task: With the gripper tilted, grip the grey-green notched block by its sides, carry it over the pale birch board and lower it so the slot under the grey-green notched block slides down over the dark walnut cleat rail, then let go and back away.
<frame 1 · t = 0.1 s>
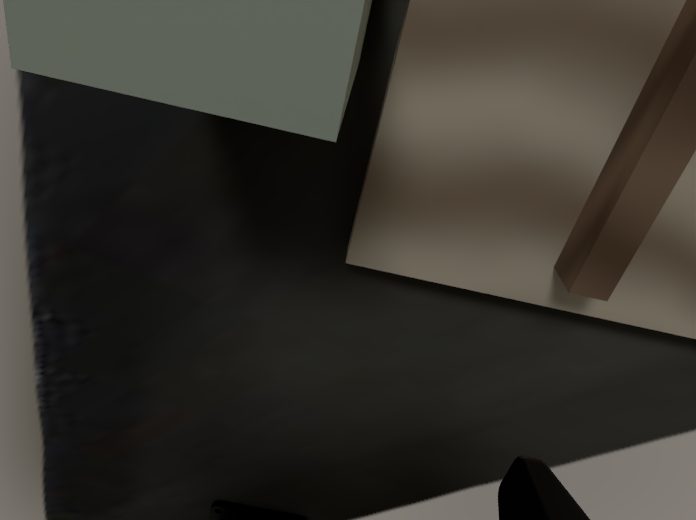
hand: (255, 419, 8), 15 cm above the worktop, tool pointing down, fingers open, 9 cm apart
cleat board: (651, 72, 19), on the worktop
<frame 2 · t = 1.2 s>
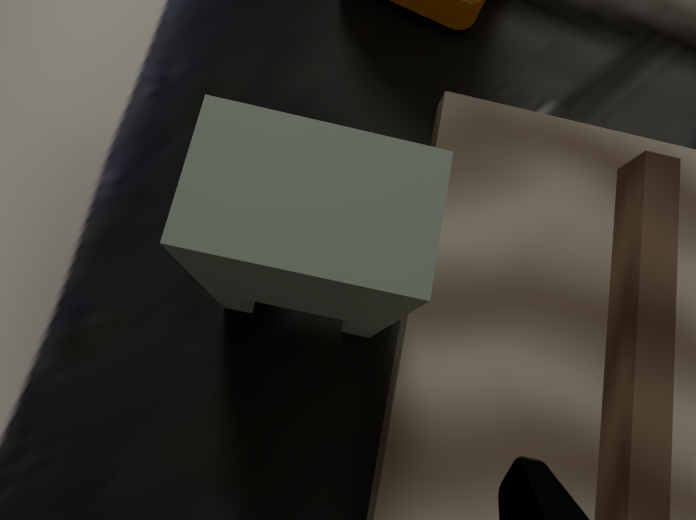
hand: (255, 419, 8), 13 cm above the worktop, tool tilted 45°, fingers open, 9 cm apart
cleat board: (603, 342, 23), on the worktop
grey-green notched block: (306, 279, 22), on the worktop
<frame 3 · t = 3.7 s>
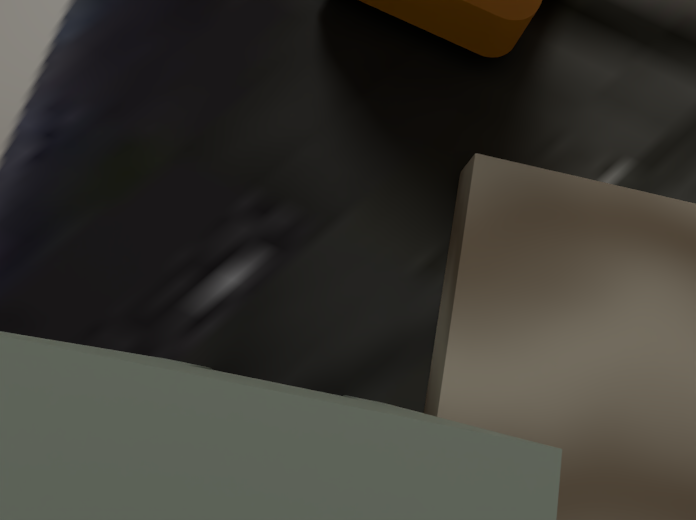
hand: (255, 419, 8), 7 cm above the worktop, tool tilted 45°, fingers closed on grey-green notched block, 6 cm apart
grey-green notched block: (262, 451, 14), on the worktop, touching gripper
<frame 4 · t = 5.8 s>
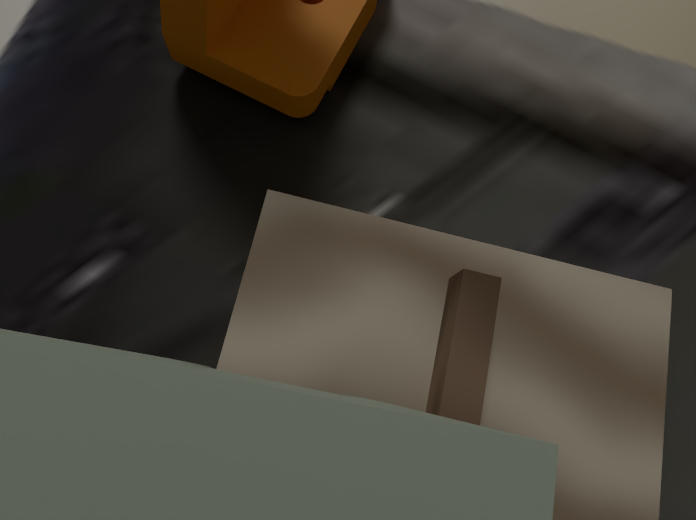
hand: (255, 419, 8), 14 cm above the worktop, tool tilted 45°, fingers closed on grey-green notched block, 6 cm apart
cleat board: (425, 466, 21), on the worktop
grey-green notched block: (261, 450, 14), point 7 cm above the worktop, touching gripper
bracket: (290, 23, 26), on the worktop
when the fingers open (9 cm above the worktop, at t = 8.2 s): grey-green notched block stays where it is, resting on cleat board.
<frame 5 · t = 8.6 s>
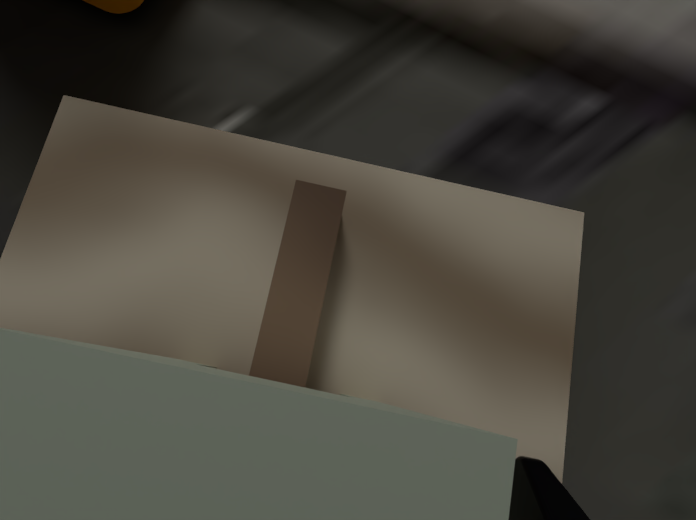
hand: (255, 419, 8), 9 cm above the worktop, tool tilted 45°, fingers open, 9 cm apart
cleat board: (267, 441, 17), on the worktop
grey-green notched block: (263, 446, 15), point 1 cm above the worktop, touching cleat board
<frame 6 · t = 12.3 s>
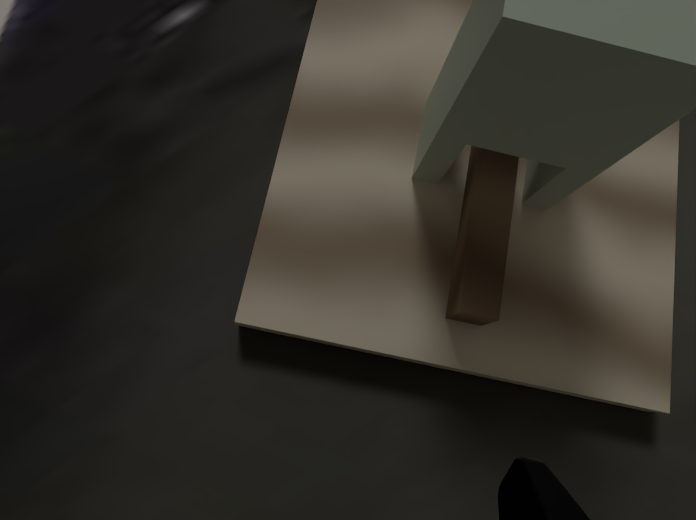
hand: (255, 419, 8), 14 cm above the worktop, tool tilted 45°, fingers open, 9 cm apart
cleat board: (475, 169, 25), on the worktop
grey-green notched block: (485, 155, 24), point 1 cm above the worktop, touching cleat board
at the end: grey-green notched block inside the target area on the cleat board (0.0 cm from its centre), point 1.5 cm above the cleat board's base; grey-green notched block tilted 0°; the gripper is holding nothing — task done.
